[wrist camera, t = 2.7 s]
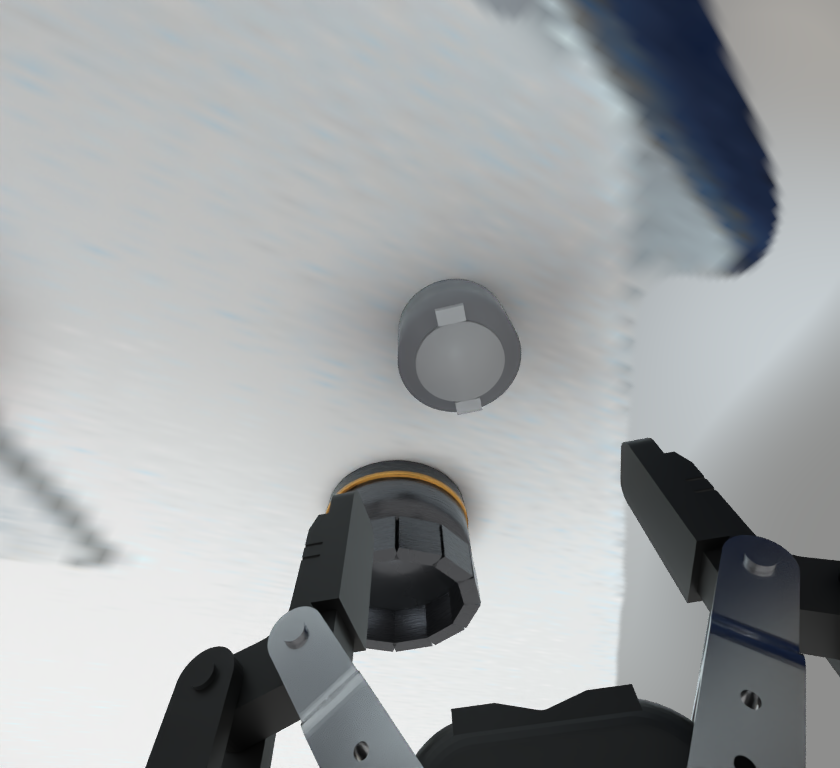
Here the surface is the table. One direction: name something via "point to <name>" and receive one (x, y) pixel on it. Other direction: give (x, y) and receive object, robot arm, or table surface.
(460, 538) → the lens barrel
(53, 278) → the table surface
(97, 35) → the table surface
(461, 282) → the lens cap
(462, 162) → the table surface
